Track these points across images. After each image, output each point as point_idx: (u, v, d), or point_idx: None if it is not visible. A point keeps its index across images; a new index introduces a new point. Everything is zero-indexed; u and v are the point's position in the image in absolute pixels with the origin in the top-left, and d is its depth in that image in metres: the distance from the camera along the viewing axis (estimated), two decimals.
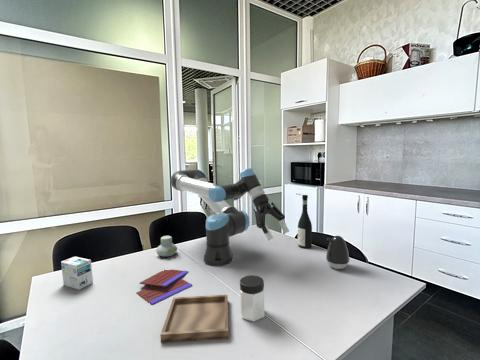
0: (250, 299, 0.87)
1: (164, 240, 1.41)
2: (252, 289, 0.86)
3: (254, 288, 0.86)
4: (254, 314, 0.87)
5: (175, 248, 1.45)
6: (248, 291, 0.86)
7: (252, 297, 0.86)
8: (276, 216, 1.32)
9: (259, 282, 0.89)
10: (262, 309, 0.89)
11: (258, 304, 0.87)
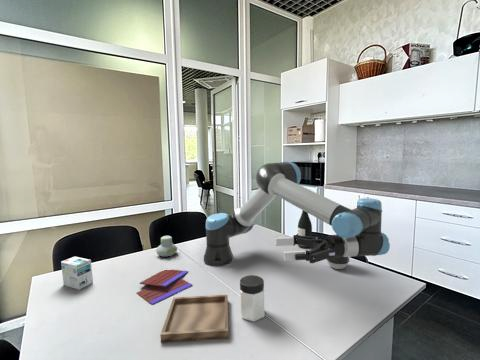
0: (250, 299, 0.87)
1: (164, 240, 1.41)
2: (252, 289, 0.86)
3: (254, 288, 0.86)
4: (254, 314, 0.87)
5: (175, 248, 1.45)
6: (248, 291, 0.86)
7: (252, 297, 0.86)
8: (301, 242, 0.95)
9: (259, 282, 0.89)
10: (262, 309, 0.89)
11: (258, 304, 0.87)
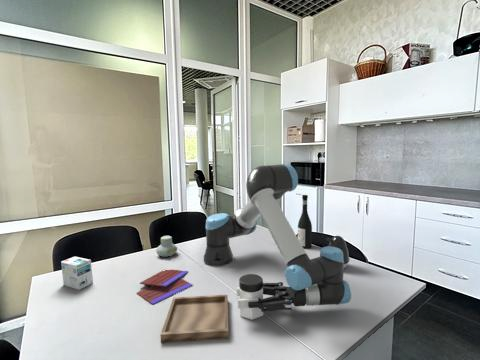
0: (248, 297, 0.88)
1: (164, 240, 1.41)
2: (250, 287, 0.87)
3: (252, 286, 0.87)
4: (252, 312, 0.88)
5: (175, 248, 1.45)
6: (246, 289, 0.87)
7: (250, 295, 0.87)
8: (264, 291, 0.94)
9: (258, 281, 0.89)
10: None
11: None
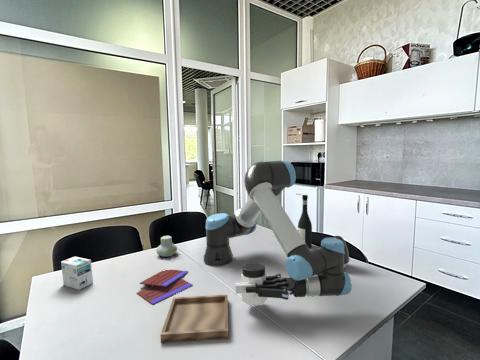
0: None
1: (164, 240, 1.41)
2: (248, 273, 0.91)
3: (250, 272, 0.90)
4: (250, 298, 0.90)
5: (175, 248, 1.45)
6: (245, 274, 0.91)
7: (248, 280, 0.90)
8: None
9: (258, 268, 0.92)
10: None
11: None
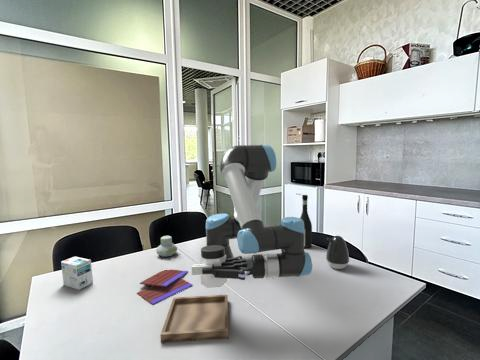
0: None
1: (164, 240, 1.41)
2: (205, 254, 0.87)
3: (207, 253, 0.87)
4: (207, 280, 0.87)
5: (175, 248, 1.45)
6: (202, 255, 0.88)
7: (205, 262, 0.87)
8: None
9: (216, 249, 0.88)
10: (217, 278, 0.87)
11: None
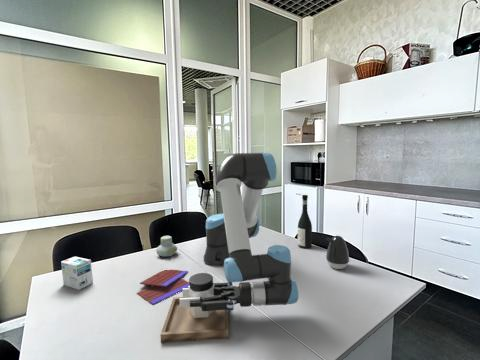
0: (192, 295, 0.88)
1: (164, 240, 1.41)
2: (193, 286, 0.87)
3: (195, 286, 0.87)
4: (195, 311, 0.88)
5: (175, 248, 1.45)
6: (190, 287, 0.88)
7: (193, 294, 0.87)
8: None
9: (204, 281, 0.88)
10: None
11: None
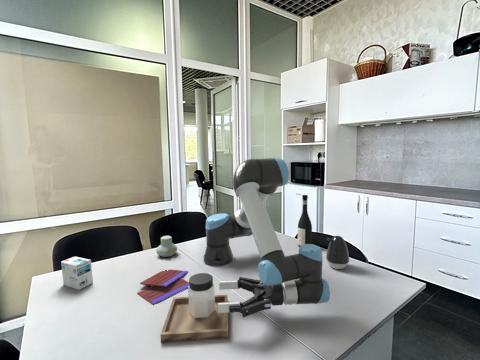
0: (192, 295, 0.88)
1: (164, 240, 1.41)
2: (193, 286, 0.87)
3: (195, 285, 0.87)
4: (195, 311, 0.88)
5: (175, 248, 1.45)
6: (190, 286, 0.88)
7: (193, 294, 0.87)
8: (245, 286, 0.94)
9: (204, 281, 0.88)
10: (205, 309, 0.88)
11: (200, 303, 0.87)
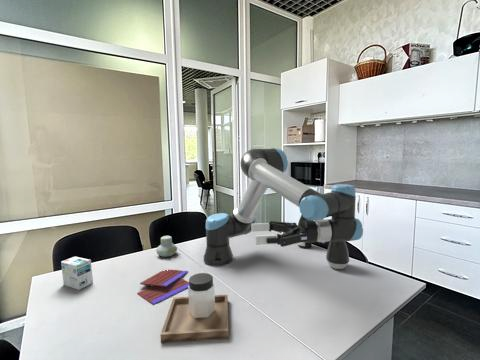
0: (192, 295, 0.88)
1: (164, 240, 1.41)
2: (193, 286, 0.87)
3: (195, 285, 0.87)
4: (195, 311, 0.88)
5: (175, 248, 1.45)
6: (190, 286, 0.88)
7: (193, 294, 0.87)
8: (277, 227, 0.95)
9: (204, 281, 0.88)
10: (205, 309, 0.88)
11: (200, 303, 0.87)
